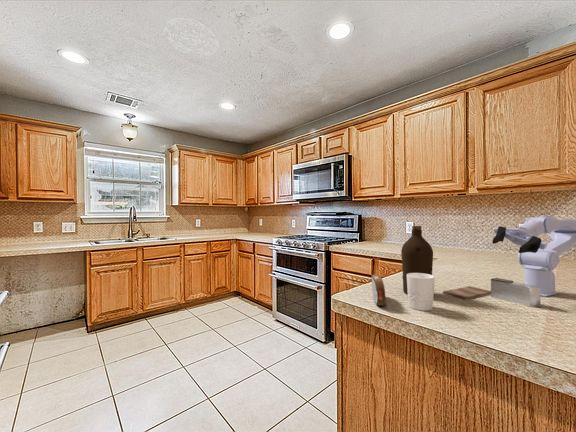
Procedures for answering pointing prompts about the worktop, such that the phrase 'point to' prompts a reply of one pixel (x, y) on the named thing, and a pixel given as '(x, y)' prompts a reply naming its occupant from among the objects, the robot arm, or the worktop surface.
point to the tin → (378, 290)
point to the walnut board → (467, 292)
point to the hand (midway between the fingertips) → (506, 245)
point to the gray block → (516, 292)
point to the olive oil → (416, 256)
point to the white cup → (420, 291)
